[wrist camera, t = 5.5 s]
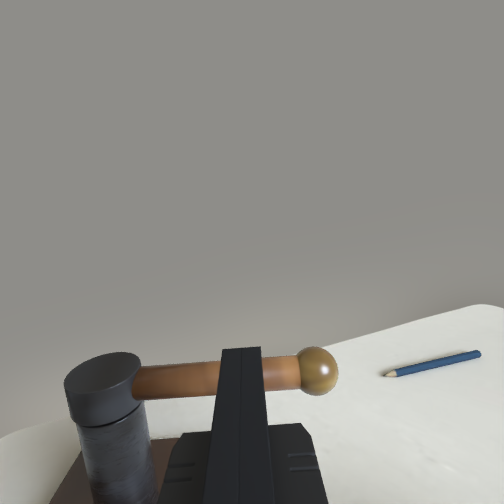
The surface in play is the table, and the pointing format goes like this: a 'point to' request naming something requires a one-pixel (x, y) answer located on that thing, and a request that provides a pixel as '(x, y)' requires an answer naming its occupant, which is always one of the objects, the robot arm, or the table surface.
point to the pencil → (434, 364)
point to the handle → (179, 381)
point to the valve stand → (117, 464)
